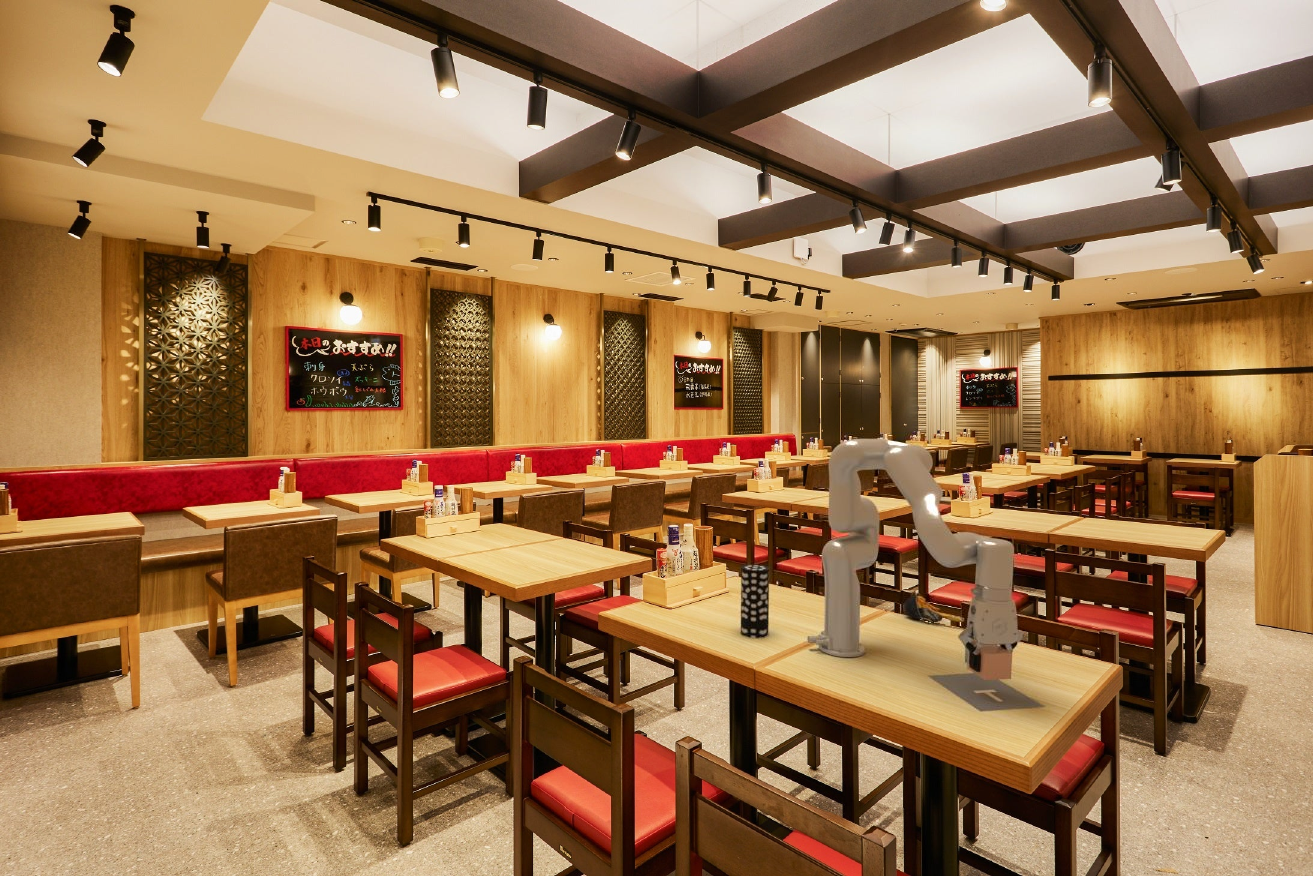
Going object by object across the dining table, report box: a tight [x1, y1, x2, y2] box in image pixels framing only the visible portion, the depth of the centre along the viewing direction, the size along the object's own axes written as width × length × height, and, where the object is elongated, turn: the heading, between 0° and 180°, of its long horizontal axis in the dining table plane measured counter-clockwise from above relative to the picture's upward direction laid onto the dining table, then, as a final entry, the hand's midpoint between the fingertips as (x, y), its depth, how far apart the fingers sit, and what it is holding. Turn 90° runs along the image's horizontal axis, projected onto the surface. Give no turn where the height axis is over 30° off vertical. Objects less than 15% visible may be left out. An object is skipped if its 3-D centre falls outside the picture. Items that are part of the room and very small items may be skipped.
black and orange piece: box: [902, 592, 965, 623], centre depth 208 cm, size 9×11×18 cm
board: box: [928, 672, 1046, 712], centre depth 152 cm, size 16×20×1 cm
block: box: [966, 643, 1013, 680], centre depth 149 cm, size 6×6×6 cm
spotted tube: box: [740, 564, 770, 639], centre depth 195 cm, size 8×8×20 cm
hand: (988, 668), depth 149 cm, fingers closed on block, 6 cm apart
